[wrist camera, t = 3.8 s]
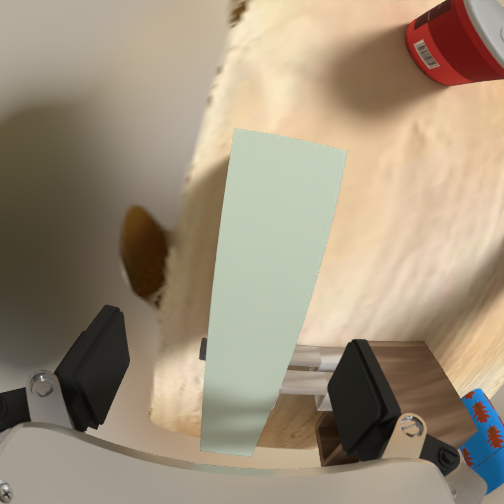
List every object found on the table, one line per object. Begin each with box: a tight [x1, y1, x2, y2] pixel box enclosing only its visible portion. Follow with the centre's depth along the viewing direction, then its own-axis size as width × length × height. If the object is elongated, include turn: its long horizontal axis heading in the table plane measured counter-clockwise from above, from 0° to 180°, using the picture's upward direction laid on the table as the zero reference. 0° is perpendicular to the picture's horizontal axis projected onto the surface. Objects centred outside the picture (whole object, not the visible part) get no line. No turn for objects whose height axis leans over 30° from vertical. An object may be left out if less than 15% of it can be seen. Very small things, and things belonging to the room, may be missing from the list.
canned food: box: [405, 0, 504, 86], centre depth 11 cm, size 8×8×11 cm
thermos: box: [460, 389, 504, 496], centre depth 26 cm, size 11×11×25 cm
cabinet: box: [272, 341, 478, 467], centre depth 25 cm, size 19×21×16 cm
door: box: [199, 129, 348, 457], centre depth 17 cm, size 16×4×16 cm, turn 171°
